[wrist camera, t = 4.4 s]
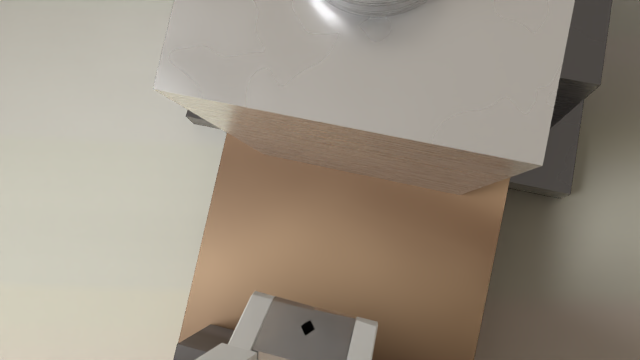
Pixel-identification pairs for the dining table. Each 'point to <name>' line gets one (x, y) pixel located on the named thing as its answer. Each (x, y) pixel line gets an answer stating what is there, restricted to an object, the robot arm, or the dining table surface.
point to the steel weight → (375, 82)
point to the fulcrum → (560, 100)
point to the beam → (344, 254)
